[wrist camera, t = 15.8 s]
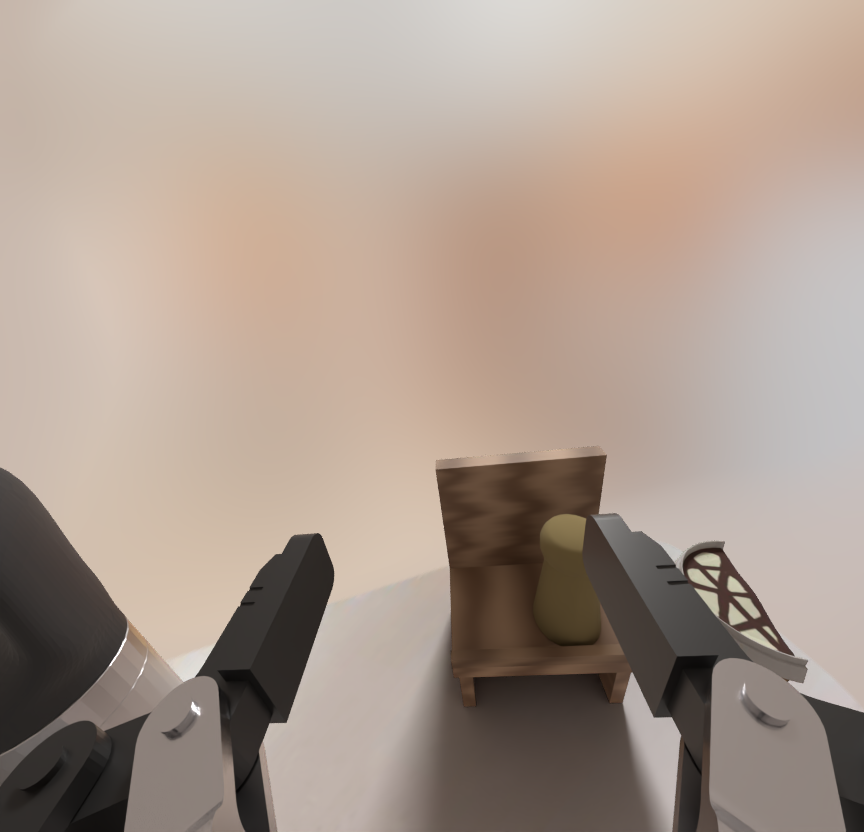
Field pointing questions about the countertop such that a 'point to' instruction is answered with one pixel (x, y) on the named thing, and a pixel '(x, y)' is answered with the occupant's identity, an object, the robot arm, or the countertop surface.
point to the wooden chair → (516, 564)
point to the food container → (738, 609)
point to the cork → (566, 585)
